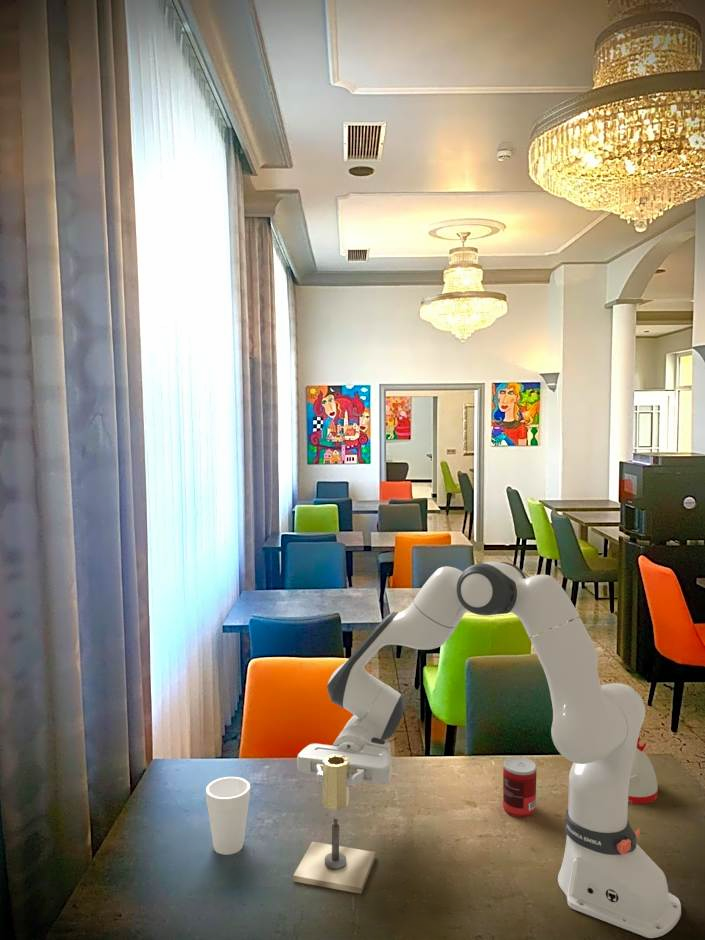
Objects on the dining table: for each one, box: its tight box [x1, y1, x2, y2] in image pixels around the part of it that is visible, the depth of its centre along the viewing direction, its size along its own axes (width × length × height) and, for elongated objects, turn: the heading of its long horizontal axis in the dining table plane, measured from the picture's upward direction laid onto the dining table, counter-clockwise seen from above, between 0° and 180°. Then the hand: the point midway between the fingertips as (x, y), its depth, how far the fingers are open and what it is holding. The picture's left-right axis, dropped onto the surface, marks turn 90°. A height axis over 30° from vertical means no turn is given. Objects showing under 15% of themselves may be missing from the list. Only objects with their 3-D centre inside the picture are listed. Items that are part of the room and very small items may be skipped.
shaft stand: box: [292, 818, 376, 895], centre depth 144 cm, size 14×12×10 cm
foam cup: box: [205, 776, 251, 856], centre depth 152 cm, size 10×9×13 cm
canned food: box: [502, 756, 538, 819], centre depth 167 cm, size 8×8×11 cm
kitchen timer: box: [628, 736, 659, 804], centre depth 177 cm, size 14×14×15 cm
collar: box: [322, 754, 350, 811], centre depth 143 cm, size 5×5×9 cm
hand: (334, 781), depth 142 cm, fingers closed on collar, 5 cm apart
